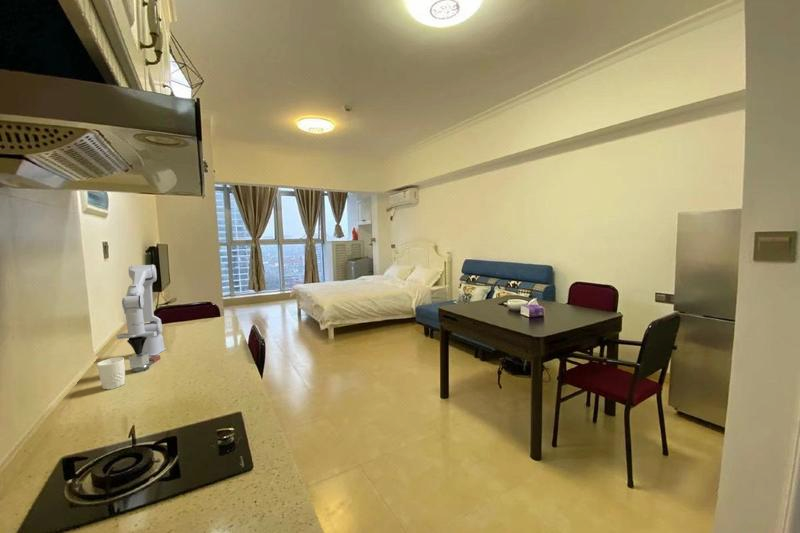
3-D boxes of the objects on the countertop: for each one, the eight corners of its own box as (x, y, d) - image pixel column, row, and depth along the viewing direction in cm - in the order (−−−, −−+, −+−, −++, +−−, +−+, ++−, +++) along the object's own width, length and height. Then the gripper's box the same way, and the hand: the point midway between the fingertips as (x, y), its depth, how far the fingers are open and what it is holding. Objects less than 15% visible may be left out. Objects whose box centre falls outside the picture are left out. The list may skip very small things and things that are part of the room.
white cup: (132, 381, 131) (129, 357, 130) (113, 390, 123) (110, 365, 122) (114, 380, 132) (111, 357, 131) (94, 390, 124) (91, 365, 123)
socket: (137, 363, 144) (136, 352, 144) (149, 362, 145) (148, 352, 144) (130, 368, 139) (128, 356, 139) (142, 367, 140) (141, 356, 140)
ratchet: (149, 359, 154) (148, 350, 153) (163, 358, 155) (162, 349, 154) (128, 373, 139) (127, 363, 138) (144, 372, 140) (142, 362, 139)
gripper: (109, 327, 135) (113, 358, 137) (148, 324, 137) (151, 355, 139) (121, 322, 142) (125, 352, 144) (158, 320, 144) (161, 349, 146)
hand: (139, 353), depth 142 cm, fingers closed
